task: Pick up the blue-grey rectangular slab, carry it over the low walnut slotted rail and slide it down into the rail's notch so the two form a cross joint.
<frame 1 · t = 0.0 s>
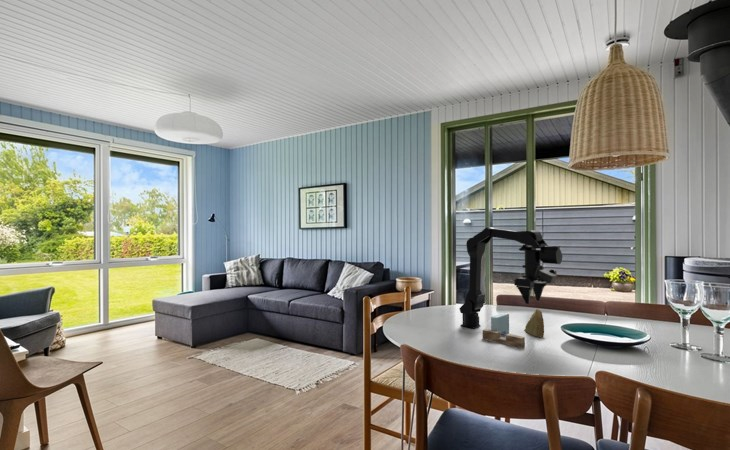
hand: (532, 302, 152), 15 cm above the table, fingers open, 9 cm apart
rock: (534, 334, 160), on the table
walnut rail: (502, 342, 149), on the table
blue-grey rectangular slab: (500, 334, 159), on the table
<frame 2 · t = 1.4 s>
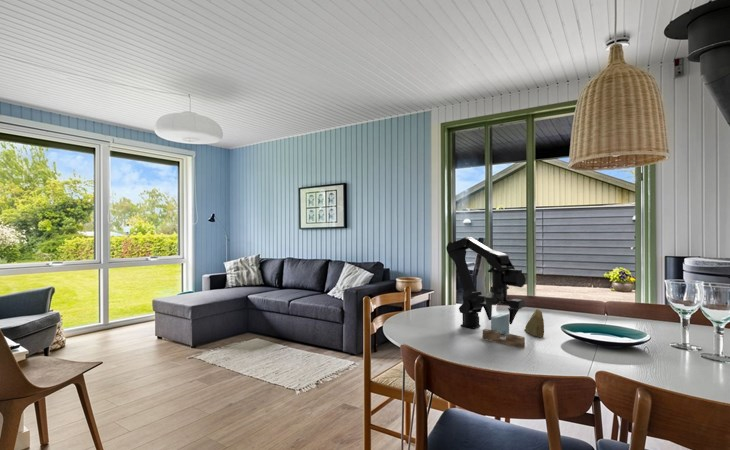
hand: (499, 322, 159), 5 cm above the table, fingers open, 9 cm apart
nothing on the table moved.
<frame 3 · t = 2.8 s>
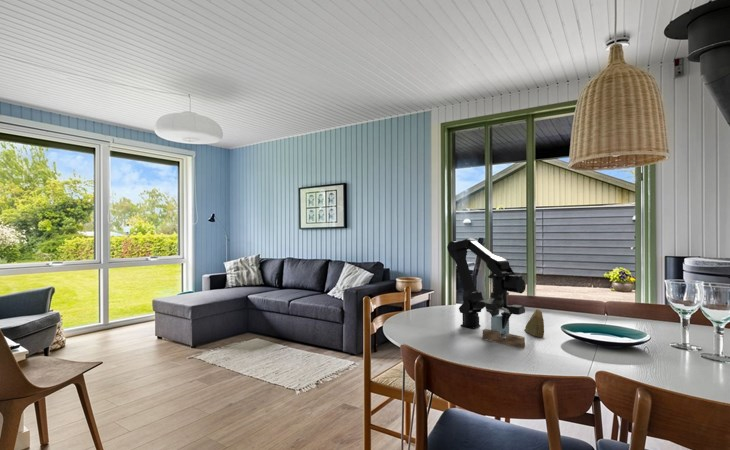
hand: (500, 327, 159), 3 cm above the table, fingers closed on blue-grey rectangular slab, 2 cm apart
blue-grey rectangular slab: (500, 334, 159), on the table, touching gripper
everything else where it was.
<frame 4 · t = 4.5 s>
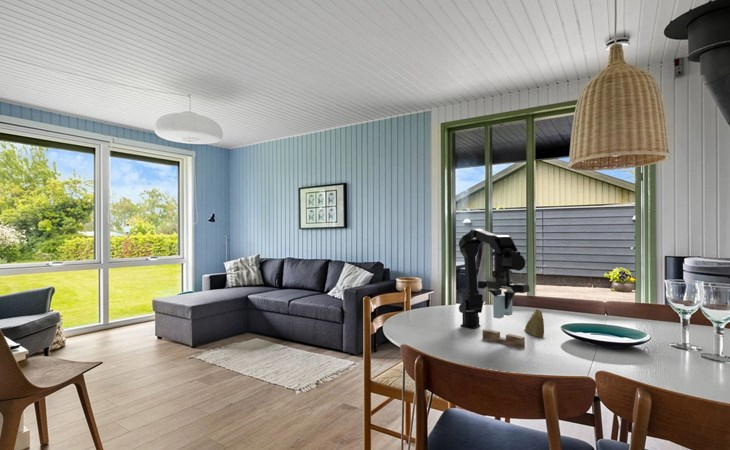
hand: (502, 308, 149), 13 cm above the table, fingers closed on blue-grey rectangular slab, 2 cm apart
blue-grey rectangular slab: (503, 316, 149), point 10 cm above the table, touching gripper
everything else where it was.
when the fingers open (4 cm above the table, at t = 6.0 s): blue-grey rectangular slab drops 1 cm, resting on walnut rail.
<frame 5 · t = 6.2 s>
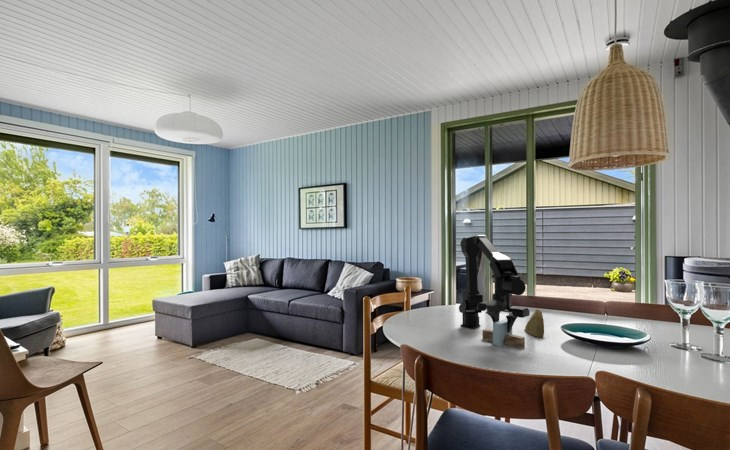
hand: (502, 331, 149), 4 cm above the table, fingers open, 4 cm apart
blue-grey rectangular slab: (502, 342, 149), resting on walnut rail
everything else where it was.
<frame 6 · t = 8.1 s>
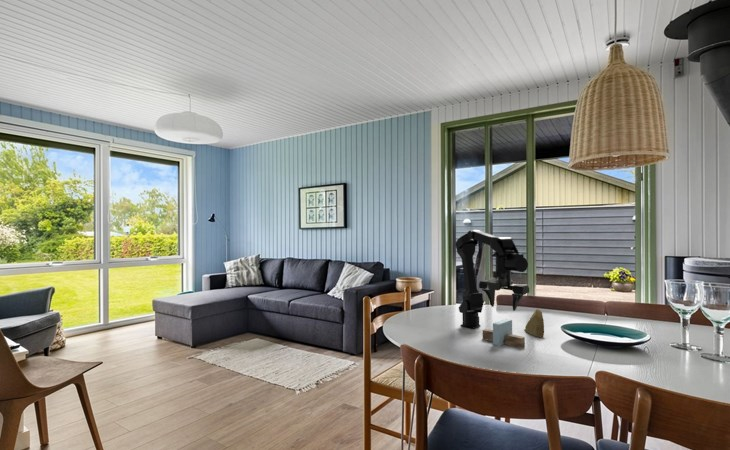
hand: (503, 308, 153), 12 cm above the table, fingers open, 9 cm apart
nothing on the table moved.
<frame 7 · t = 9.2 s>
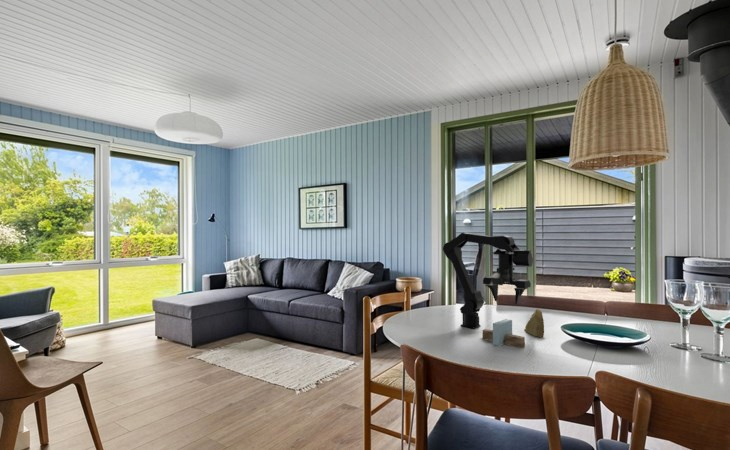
hand: (506, 302, 162), 13 cm above the table, fingers open, 9 cm apart
nothing on the table moved.
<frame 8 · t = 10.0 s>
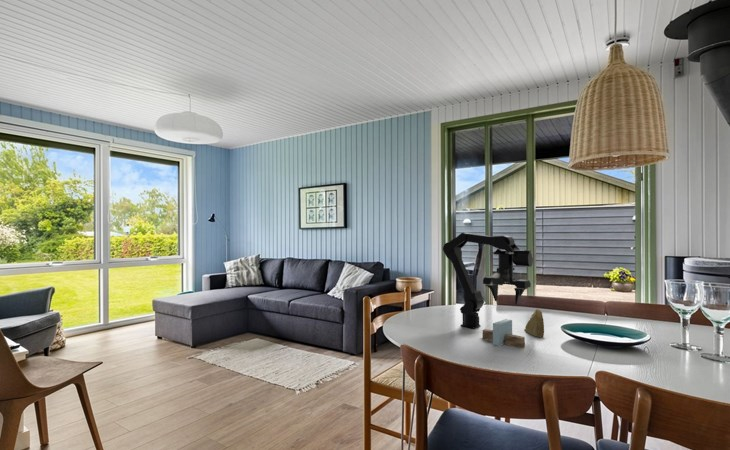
hand: (506, 302, 162), 13 cm above the table, fingers open, 9 cm apart
nothing on the table moved.
at the end: blue-grey rectangular slab 0.1 cm off-centre on the walnut rail, point 0.0 cm above the walnut rail's base; blue-grey rectangular slab tilted 0°; the gripper is holding nothing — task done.
